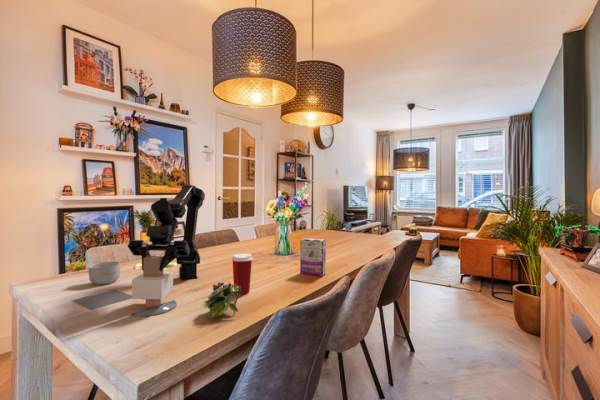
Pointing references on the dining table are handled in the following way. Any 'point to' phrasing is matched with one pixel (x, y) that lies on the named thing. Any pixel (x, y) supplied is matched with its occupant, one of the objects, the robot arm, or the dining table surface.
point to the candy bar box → (313, 256)
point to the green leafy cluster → (221, 299)
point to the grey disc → (156, 307)
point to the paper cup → (242, 272)
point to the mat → (102, 299)
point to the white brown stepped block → (152, 280)
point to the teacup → (104, 272)
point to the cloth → (163, 269)
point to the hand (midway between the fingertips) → (151, 270)
